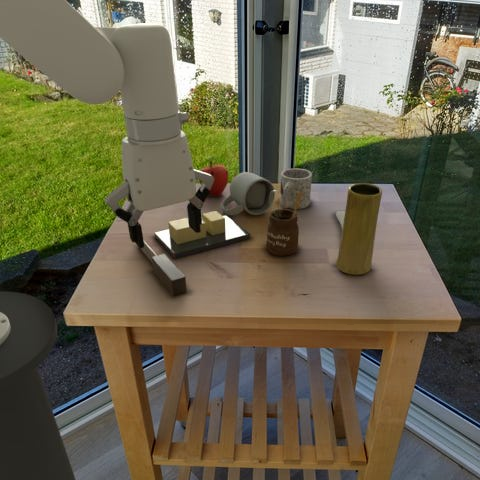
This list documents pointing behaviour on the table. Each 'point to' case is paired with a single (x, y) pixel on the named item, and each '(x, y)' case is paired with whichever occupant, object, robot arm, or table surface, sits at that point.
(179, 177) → the robot arm
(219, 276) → the table surface
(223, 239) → the board
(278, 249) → the utensil holder
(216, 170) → the apple
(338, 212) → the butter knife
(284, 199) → the mug
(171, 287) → the table knife
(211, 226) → the butter pat
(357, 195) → the vase
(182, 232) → the butter block
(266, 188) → the ceramic mug
